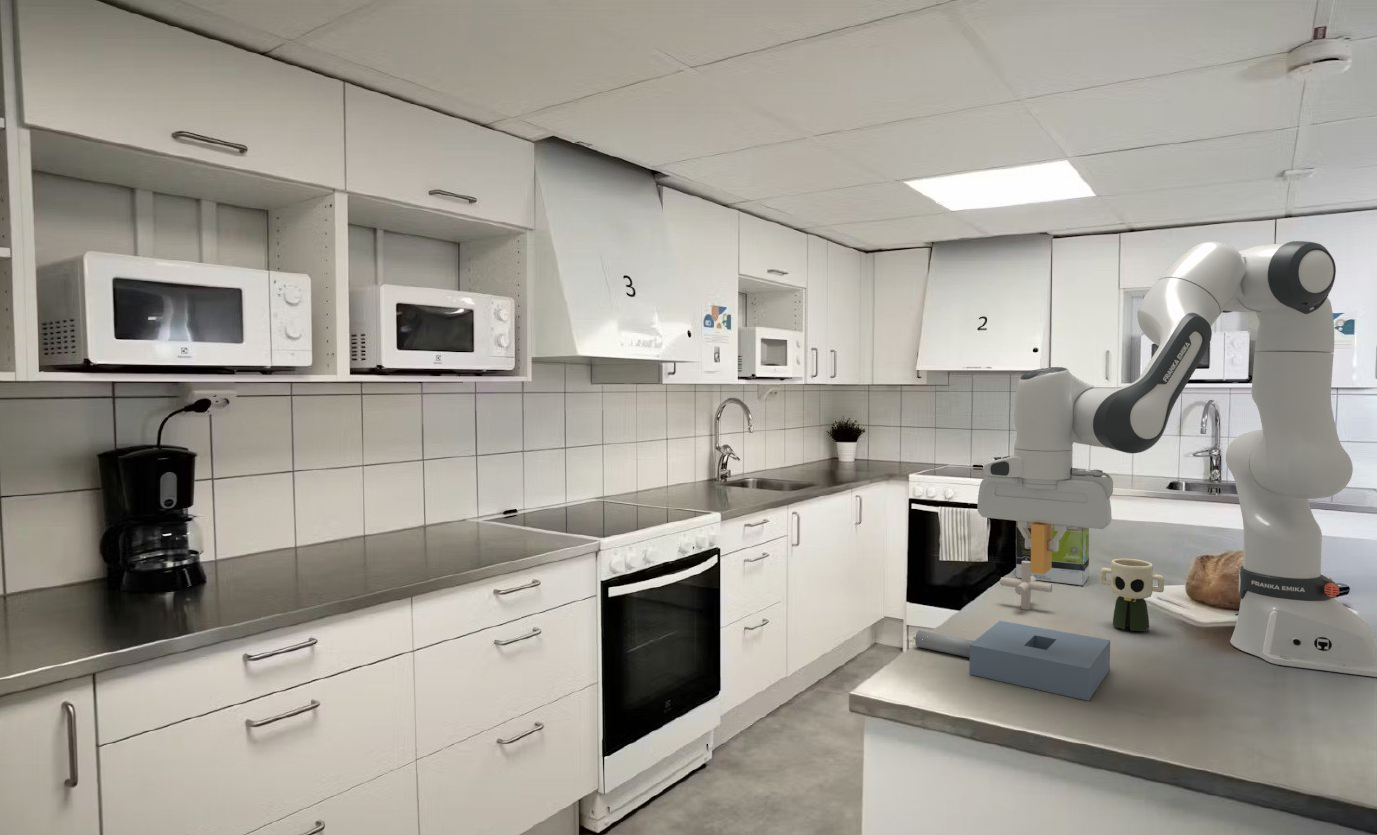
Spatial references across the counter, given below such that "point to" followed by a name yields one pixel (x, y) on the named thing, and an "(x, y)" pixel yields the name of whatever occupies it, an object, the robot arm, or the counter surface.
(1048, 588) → the pipe connector
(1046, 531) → the orange rectangular block
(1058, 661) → the blue holed block
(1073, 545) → the tea box
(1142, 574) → the character mug
